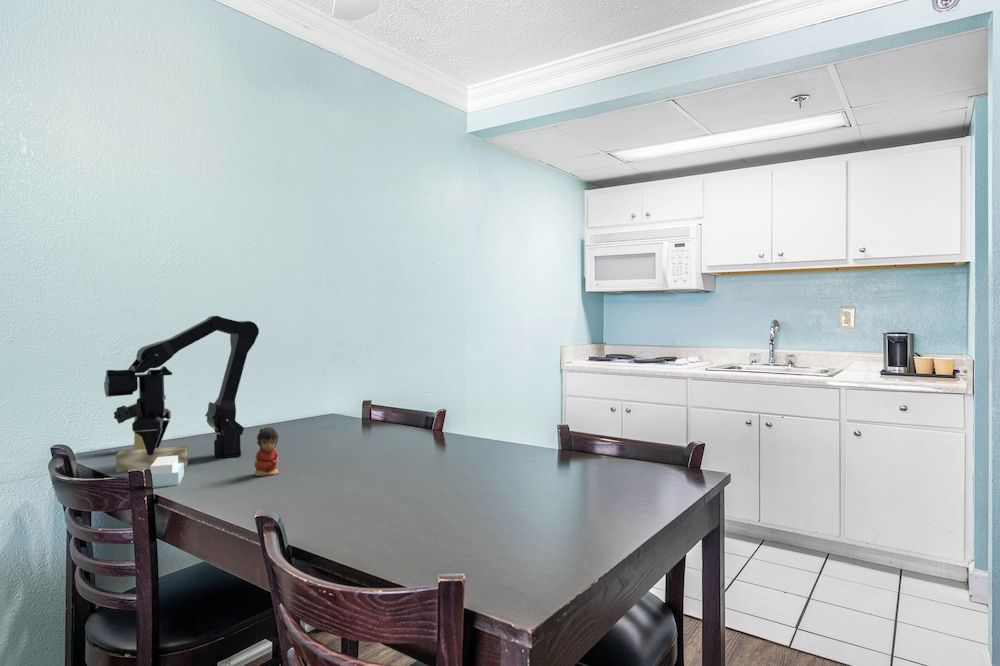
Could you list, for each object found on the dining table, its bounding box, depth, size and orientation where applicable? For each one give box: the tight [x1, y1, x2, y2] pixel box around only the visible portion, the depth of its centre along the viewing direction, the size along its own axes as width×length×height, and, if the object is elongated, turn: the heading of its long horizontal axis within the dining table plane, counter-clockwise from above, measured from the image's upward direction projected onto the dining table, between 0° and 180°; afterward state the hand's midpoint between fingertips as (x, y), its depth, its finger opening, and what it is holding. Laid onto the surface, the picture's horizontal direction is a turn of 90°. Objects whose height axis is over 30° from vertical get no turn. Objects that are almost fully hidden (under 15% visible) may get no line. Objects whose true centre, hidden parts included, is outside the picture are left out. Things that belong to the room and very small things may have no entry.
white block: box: [150, 455, 185, 488], centre depth 144 cm, size 7×10×5 cm
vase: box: [133, 402, 146, 450], centre depth 178 cm, size 6×6×14 cm
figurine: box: [254, 426, 280, 477], centre depth 150 cm, size 6×6×12 cm
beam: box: [115, 445, 189, 473], centre depth 157 cm, size 16×4×5 cm, turn 110°
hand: (153, 451), depth 157 cm, fingers open, 9 cm apart
